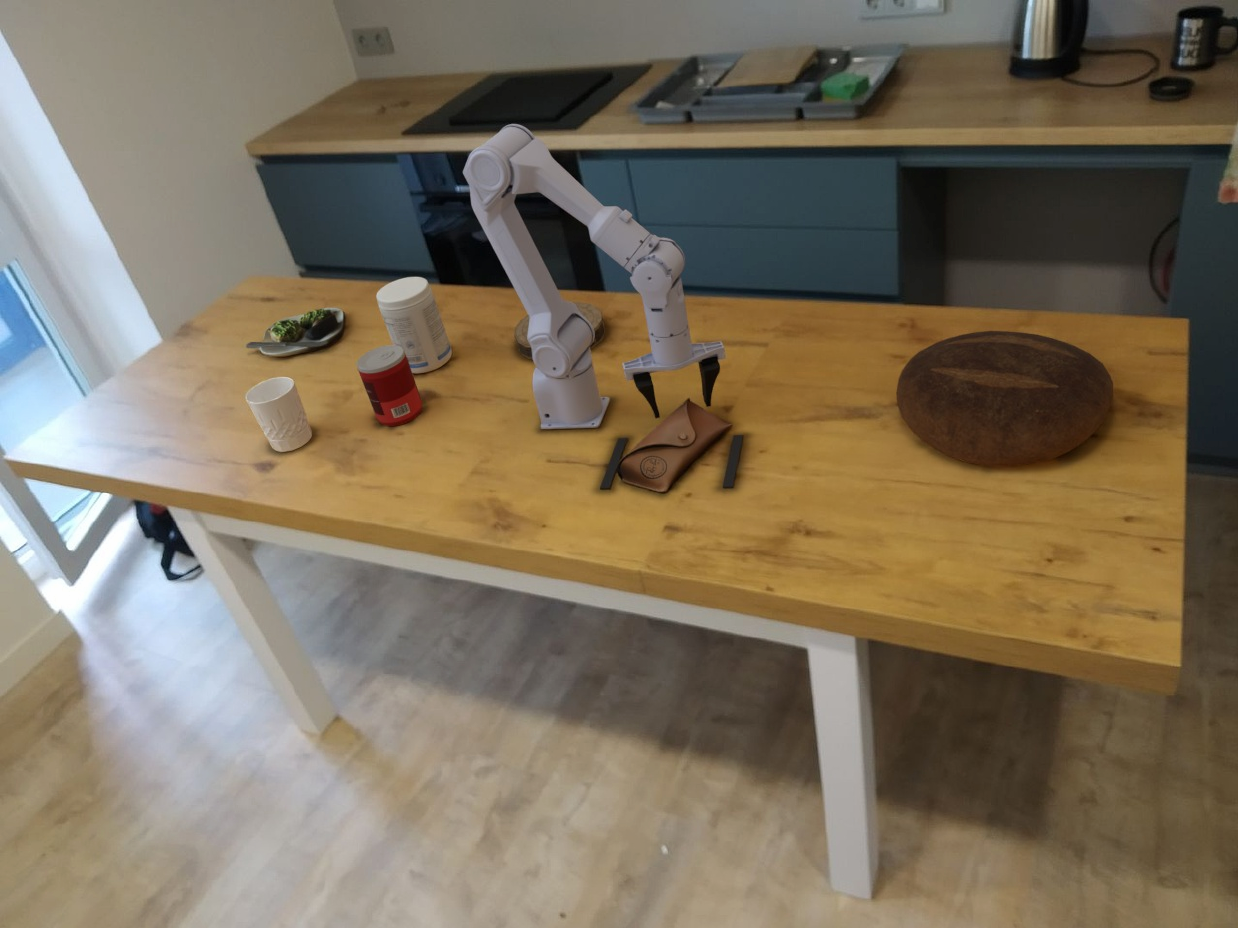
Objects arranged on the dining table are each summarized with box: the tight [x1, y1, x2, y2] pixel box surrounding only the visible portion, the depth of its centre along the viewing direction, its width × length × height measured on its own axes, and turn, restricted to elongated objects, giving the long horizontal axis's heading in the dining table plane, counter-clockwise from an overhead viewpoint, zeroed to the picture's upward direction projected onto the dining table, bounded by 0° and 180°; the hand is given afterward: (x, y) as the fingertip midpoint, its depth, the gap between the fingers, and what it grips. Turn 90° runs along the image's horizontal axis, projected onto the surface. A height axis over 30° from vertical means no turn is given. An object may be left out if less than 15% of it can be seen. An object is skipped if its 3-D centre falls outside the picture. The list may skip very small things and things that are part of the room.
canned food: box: [356, 344, 423, 427], centre depth 161 cm, size 8×8×11 cm
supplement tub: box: [375, 276, 453, 374], centre depth 174 cm, size 10×10×15 cm
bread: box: [896, 330, 1114, 467], centre depth 133 cm, size 28×27×9 cm
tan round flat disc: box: [513, 301, 606, 361], centre depth 175 cm, size 16×16×3 cm
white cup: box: [244, 376, 313, 453], centre depth 161 cm, size 8×8×10 cm
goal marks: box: [599, 434, 744, 490], centre depth 139 cm, size 19×12×1 cm, turn 78°
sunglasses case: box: [616, 397, 733, 493], centre depth 140 cm, size 18×7×7 cm
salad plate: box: [245, 306, 346, 357], centre depth 194 cm, size 19×18×5 cm
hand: (682, 409), depth 145 cm, fingers open, 7 cm apart
